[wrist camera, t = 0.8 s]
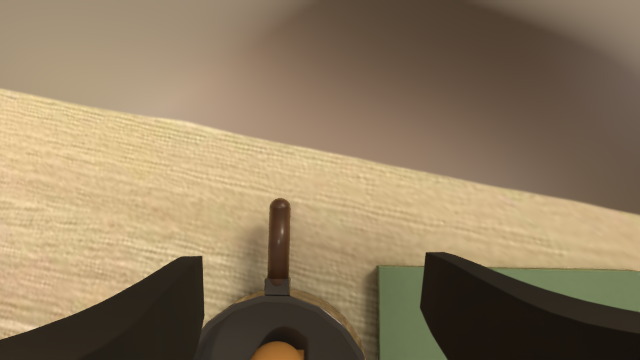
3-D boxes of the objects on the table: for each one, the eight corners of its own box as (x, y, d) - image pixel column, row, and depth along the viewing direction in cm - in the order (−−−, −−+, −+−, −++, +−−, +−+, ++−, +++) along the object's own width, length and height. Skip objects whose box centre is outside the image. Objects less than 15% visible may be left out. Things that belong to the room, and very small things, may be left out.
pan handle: (291, 292, 28) (288, 296, 26) (267, 292, 28) (263, 295, 26) (293, 199, 29) (290, 197, 27) (270, 198, 29) (266, 197, 27)
